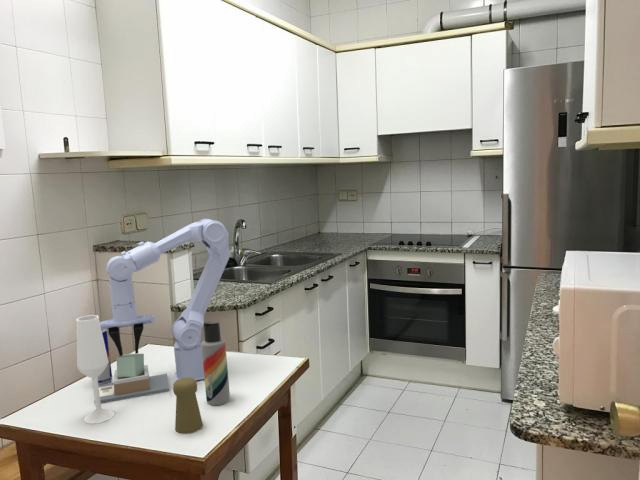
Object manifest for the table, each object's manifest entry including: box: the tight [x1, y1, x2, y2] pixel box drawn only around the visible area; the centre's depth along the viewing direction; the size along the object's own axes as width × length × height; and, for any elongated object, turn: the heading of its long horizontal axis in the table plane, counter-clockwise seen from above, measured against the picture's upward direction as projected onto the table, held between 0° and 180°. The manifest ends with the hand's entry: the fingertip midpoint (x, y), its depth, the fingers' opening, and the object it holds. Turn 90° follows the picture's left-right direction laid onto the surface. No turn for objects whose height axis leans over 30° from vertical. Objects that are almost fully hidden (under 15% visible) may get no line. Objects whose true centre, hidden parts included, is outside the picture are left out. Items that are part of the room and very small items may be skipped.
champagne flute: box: [75, 314, 115, 424], centre depth 126 cm, size 7×7×24 cm
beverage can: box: [97, 329, 113, 385], centre depth 147 cm, size 5×5×15 cm
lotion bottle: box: [201, 321, 231, 406], centre depth 131 cm, size 6×6×20 cm
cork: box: [172, 378, 204, 435], centre depth 119 cm, size 6×6×11 cm
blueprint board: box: [93, 364, 170, 404], centre depth 142 cm, size 18×11×5 cm, turn 108°
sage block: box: [116, 353, 145, 377], centre depth 141 cm, size 5×5×5 cm
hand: (129, 353), depth 141 cm, fingers open, 3 cm apart
